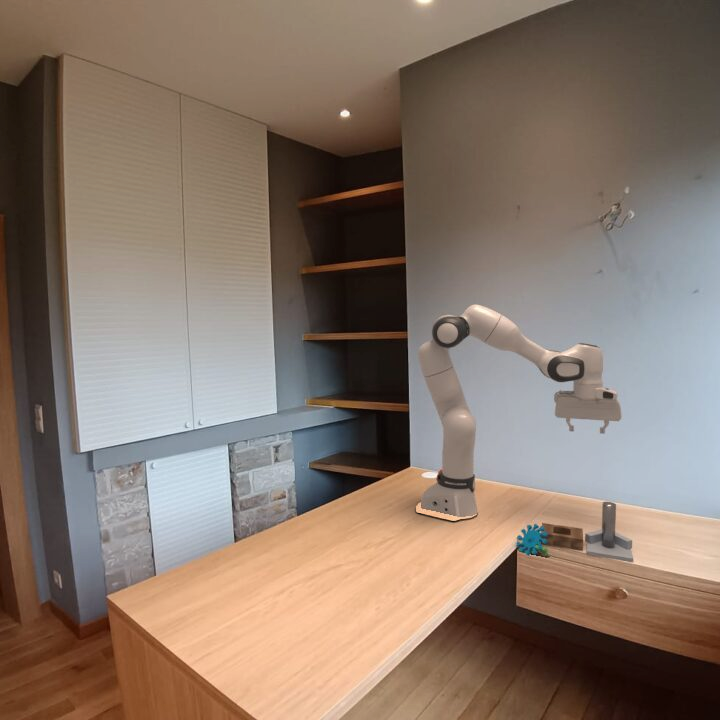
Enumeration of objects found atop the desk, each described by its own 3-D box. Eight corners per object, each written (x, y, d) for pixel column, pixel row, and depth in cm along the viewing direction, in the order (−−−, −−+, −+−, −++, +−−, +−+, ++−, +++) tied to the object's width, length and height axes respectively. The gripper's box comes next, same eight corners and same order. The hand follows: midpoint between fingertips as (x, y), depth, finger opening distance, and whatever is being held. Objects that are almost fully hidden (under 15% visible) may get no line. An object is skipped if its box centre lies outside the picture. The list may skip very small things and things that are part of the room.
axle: (601, 547, 145) (602, 505, 143) (601, 541, 148) (602, 501, 147) (615, 549, 143) (616, 507, 142) (614, 543, 146) (615, 502, 145)
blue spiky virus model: (509, 540, 149) (531, 516, 149) (520, 550, 151) (542, 527, 151) (530, 562, 139) (554, 536, 139) (541, 572, 141) (565, 547, 141)
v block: (585, 554, 143) (585, 542, 142) (584, 536, 153) (584, 526, 153) (634, 562, 137) (635, 550, 137) (630, 543, 148) (630, 532, 148)
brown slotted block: (540, 543, 149) (540, 533, 149) (542, 533, 157) (542, 522, 156) (583, 550, 145) (583, 539, 144) (582, 539, 152) (582, 528, 152)
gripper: (553, 391, 162) (553, 431, 164) (622, 394, 154) (621, 436, 155) (554, 388, 168) (553, 427, 169) (620, 391, 160) (619, 432, 161)
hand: (586, 432), depth 162 cm, fingers open, 8 cm apart
